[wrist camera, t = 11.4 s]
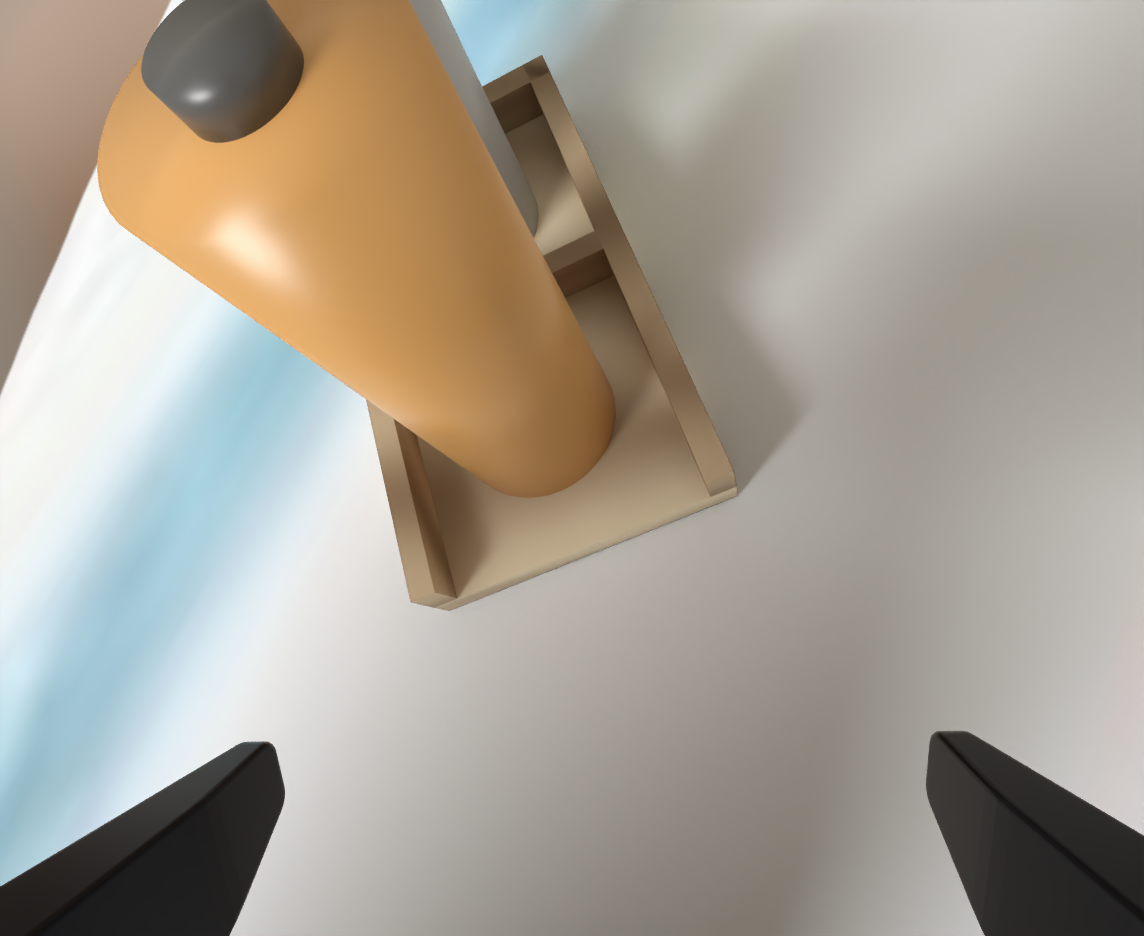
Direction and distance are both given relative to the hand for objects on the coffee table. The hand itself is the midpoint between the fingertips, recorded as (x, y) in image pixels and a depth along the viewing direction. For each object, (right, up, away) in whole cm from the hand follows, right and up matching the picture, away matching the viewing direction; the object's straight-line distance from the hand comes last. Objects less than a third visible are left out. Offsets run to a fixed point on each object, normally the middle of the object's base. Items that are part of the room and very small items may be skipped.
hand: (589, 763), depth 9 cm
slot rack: (-2, +9, +15) cm, 18 cm away
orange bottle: (-1, +6, +12) cm, 14 cm away
